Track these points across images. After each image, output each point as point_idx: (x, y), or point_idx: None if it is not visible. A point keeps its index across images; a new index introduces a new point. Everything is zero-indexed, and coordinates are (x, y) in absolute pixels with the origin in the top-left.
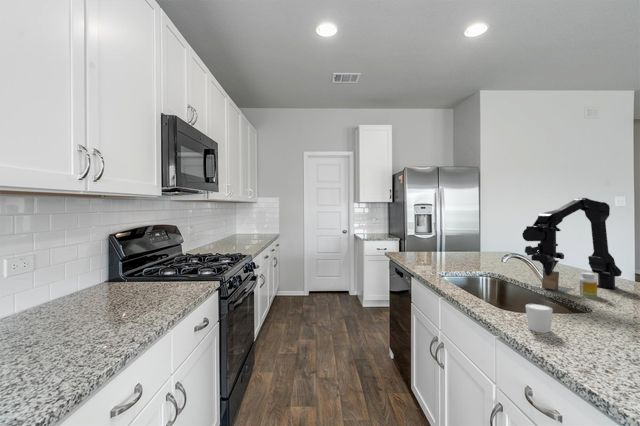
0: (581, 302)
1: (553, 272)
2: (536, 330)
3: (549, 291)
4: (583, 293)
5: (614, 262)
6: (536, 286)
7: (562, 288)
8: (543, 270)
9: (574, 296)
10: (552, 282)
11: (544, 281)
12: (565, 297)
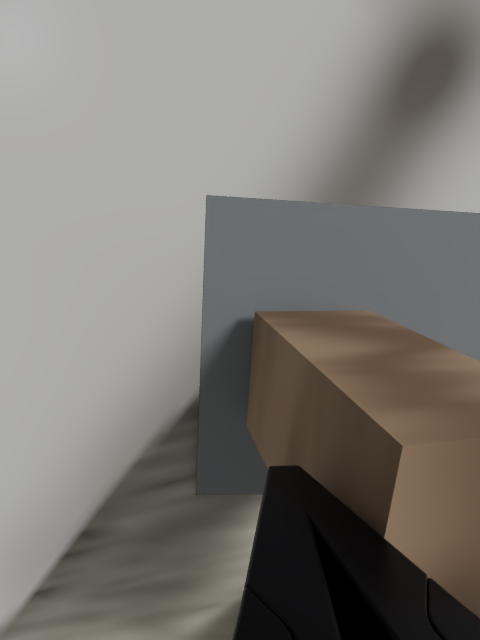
0: (55, 631)
1: None
2: None
3: (202, 390)
4: None
5: None
6: (354, 210)
7: None
8: (390, 447)
9: (220, 553)
10: (273, 460)
11: (282, 364)
12: (118, 526)
